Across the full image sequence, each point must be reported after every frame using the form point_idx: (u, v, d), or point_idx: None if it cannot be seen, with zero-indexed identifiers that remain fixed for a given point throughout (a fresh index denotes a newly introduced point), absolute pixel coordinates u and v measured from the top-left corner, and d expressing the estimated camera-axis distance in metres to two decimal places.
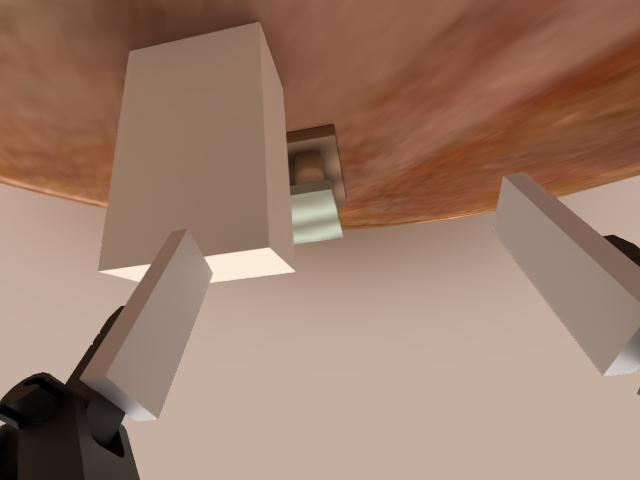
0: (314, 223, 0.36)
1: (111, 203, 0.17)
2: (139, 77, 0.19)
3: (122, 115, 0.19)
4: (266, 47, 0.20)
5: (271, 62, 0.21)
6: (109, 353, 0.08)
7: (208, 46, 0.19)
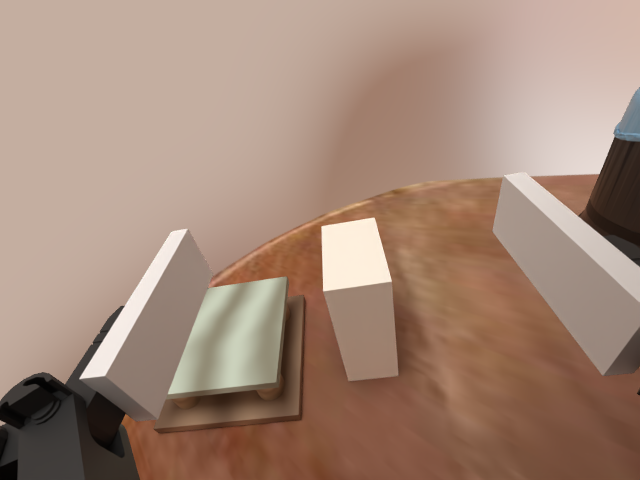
0: (208, 362, 0.32)
1: None
2: None
3: None
4: (386, 374, 0.33)
5: (375, 375, 0.33)
6: (109, 353, 0.08)
7: None
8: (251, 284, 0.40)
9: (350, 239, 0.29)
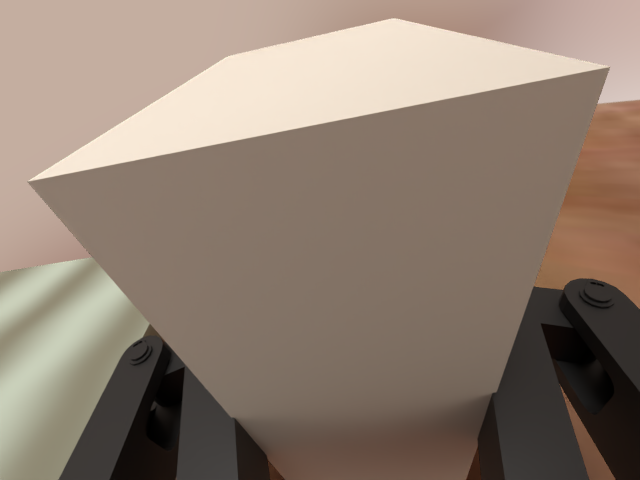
0: None
1: None
2: None
3: None
4: None
5: None
6: None
7: None
8: None
9: (306, 49, 0.08)
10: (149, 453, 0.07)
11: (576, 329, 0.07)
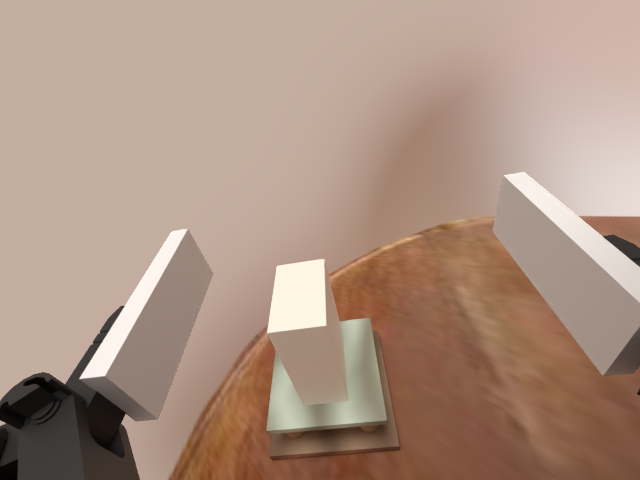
0: None
1: (329, 283, 0.37)
2: (341, 331, 0.41)
3: (337, 313, 0.40)
4: (336, 399, 0.36)
5: (327, 400, 0.36)
6: (109, 353, 0.08)
7: (344, 369, 0.38)
8: None
9: (299, 281, 0.32)
10: None
11: None
